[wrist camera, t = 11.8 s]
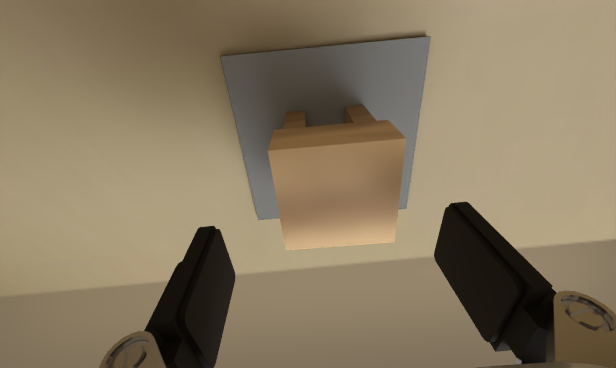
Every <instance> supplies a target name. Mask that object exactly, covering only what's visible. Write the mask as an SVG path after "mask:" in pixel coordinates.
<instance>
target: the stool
mask: <svg viewBox="0 0 616 368" xmlns="http://www.w3.org/2000/svg"><path fill="white" fill-rule="evenodd" d="M405 147H406V138H405V136H404V135H403V134H402V133H401V132H400V131H399V130H398V129H397V128H396V127H395V126H394V125H393V124H392V123H391V122H390V121H389V120H378V121H377V120H376V119H375V118H374V117H373V116H372V114H371V113H370V112H369V111H368V110H367V108H366V107H365V106H364V105H359V106H348V107H345V124H335V125H324V126H313V127H306V119H305V111H295V112H286V115H285V120H284V124H283V129H280V130H274V132H273V135H272V138H271V142H270V145H269V148H268V155H269V161H270V166H271V171H272V177H273V182H274V188H275V193H276V199H277V204H278V210H279V215H280V221H281V226H282V232H283V237H284V242H285V248H286V250H297V249H310V248H323V247H336V246H350V245H363V244H376V243H389V242H395V234H396V225H397V217H398V208H399V199H400V190H401V182H402V173H403V164H404V156H405Z"/></svg>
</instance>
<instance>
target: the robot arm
mask: <svg viewBox="0 0 616 368" xmlns="http://www.w3.org/2000/svg"><path fill="white" fill-rule="evenodd" d="M434 257H435V260H436V262H437V264H438V266H439V267H440V269H441V270H442V272H443V274H444V276H445V277H446V278H447V280H448V282H449V284H450V285H451V287H452V288H453V290H454V291H455V293H456V295H457V296H458V298H459V300H460V302H461V303H462V305H463V306H464V308H465V310H466V311H467V313H468V314H469V316H470V317H471V319H472V321H473V323H474V324H475V326H476V327H477V329H478V331H479V332H480V334H481V336H482V337H483V338H484V340H485V341H487V342H490V344H491V345H492V347H493V348H494V350H495V351H507V350H512V352H513V353H514V355H515V356H516V357H517V359H516V365H503V366H490V367H479V368H616V315H615V313H614V312H613V311H612V310H610V309H609V308H608V307H607V306H605V305H604V304H603V303H601V302H599V301H597V300H596V299H594V298H592V297H590V296H587V295H585V294H582V293H578V292H575V291H561V292H558V293H556V292H555V291H554V290H553V289H552V285H551V284H550V283H549V282H548V281H547V280H546V279H545V278H544V277H543V276H542V275H541V274H540V273H539V272H538V271H537V270H536V269H535V268H534V267H533V266H532V265H531V264H530V263H529V262H528V261H527V260H526V259H525V258H524V257H523V256H522V255H521V254H520V253H519V252H518V251H517V250H516V249H515V248H514V247H513V246H512V245H511V244H510V243H509V242H508V241H507V240H506V239H505V238H503V237H502V236H501V235H500V234H499V233H498V232H497V231H496V230H495V229H494V228H493V227H492V226H491V225H490V224H489V223H488V222H487V221H486V220H485V219H484V218H483V217H482V216H481V215H480V214H479V213H478V212H477V211H476V210H475V209H474V208H473V207H472V206H471V205H470V204H469V203H468V202H458V203H451V204H450V205H449V207H446V209H445V212H444V216H443V220H442V224H441V228H440V232H439V236H438V240H437V244H436V248H435V252H434ZM234 283H235V272H234V269H233V266H232V263H231V260H230V257H229V254H228V251H227V248H226V246H225V243H224V240H223V237H222V234H221V231H220V230H219V229H216V228H215V227H214V226H208V227H200V228H198V230H197V232H196V234H195V236H194V238H193V240H192V242H191V244H190V246H189V248H188V250H187V253H186V255H185V257H184V259H183V261H182V262H180V263H178V265H177V266H176V268H175V270H174V272H173V274H172V276H171V278H170V280H169V282H168V284H167V286H166V288H165V290H164V292H163V294H162V296H161V298H160V300H159V302H158V305H157V306H156V308H155V310H154V312H153V315H152V317H151V318H150V320H149V323H148V325H147V327H146V328H145V330H144V331H138V332H134V333H131V334H129V335H127V336H125V337H124V338H122V339H121V340H119V341H118V342H117V343H116V344H114V345H113V347H112V348H111V349H110V350H109V351H108V352H107V353H106V355H105V356H104V358H103V360H102V362H101V364H100V367H99V368H213V367H214V366H215V363H216V359H217V355H218V351H219V347H220V342H221V338H222V334H223V329H224V325H225V321H226V317H227V313H228V308H229V304H230V300H231V295H232V291H233V287H234Z"/></svg>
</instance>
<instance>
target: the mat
mask: <svg viewBox="0 0 616 368" xmlns="http://www.w3.org/2000/svg"><path fill="white" fill-rule="evenodd" d="M430 38H431V37H430V36H426V37H416V38H405V39H395V40H384V41H374V42H363V43H353V44H342V45H332V46H321V47H311V48H300V49H290V50H279V51H269V52H258V53H248V54H237V55H227V56H220V58H221V62H222V66H223V71H224V75H225V79H226V83H227V88H228V92H229V96H230V101H231V105H232V109H233V114H234V118H235V122H236V126H237V131H238V135H239V139H240V144H241V148H242V152H243V156H244V161H245V165H246V169H247V174H248V178H249V182H250V187H251V191H252V195H253V199H254V204H255V208H256V212H257V217H258V220H264V219H277V218H280V215H279V210H278V204H277V199H276V193H275V188H274V182H273V177H272V171H271V166H270V161H269V155H268V148H269V145H270V142H271V138H272V135H273V132H274V130H280V129H283V124H284V120H285V115H286V112H295V111H305V119H306V127H313V126H324V125H335V124H345V107H348V106H359V105H364V106H365V107H366V108H367V110H368V111H369V112H370V113H371V114H372V116H373V117H374V118H375V119H376V120H377V121H378V120H389V121H390V122H391V123H392V124H393V125H394V126H395V127H396V128H397V129H398V130H399V131H400V132H401V133H402V134H403V135H404V136H405V138H406V147H405V156H404V164H403V173H402V182H401V190H400V199H399V208H398V209H406V208H407V201H408V194H409V187H410V179H411V172H412V165H413V158H414V151H415V144H416V137H417V130H418V123H419V116H420V109H421V101H422V94H423V87H424V80H425V73H426V66H427V59H428V52H429V45H430Z"/></svg>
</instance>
